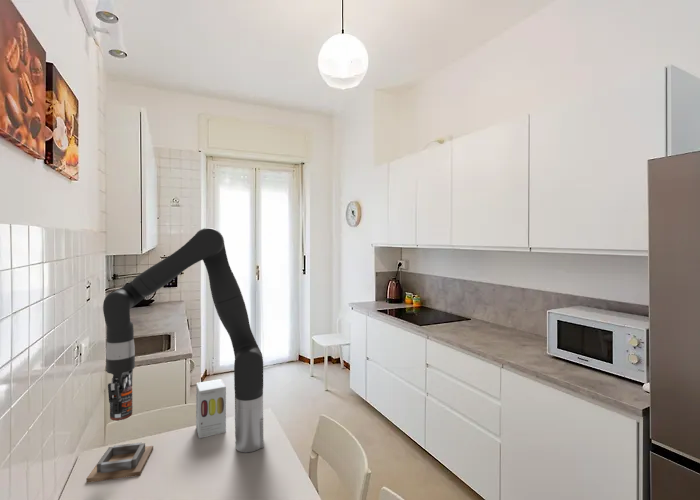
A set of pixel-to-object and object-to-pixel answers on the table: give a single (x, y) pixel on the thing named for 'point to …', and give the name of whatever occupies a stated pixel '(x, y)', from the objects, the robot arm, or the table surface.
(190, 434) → the table surface
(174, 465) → the table surface
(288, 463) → the table surface
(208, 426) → the supplement box
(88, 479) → the collar holder
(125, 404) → the supplement bottle
